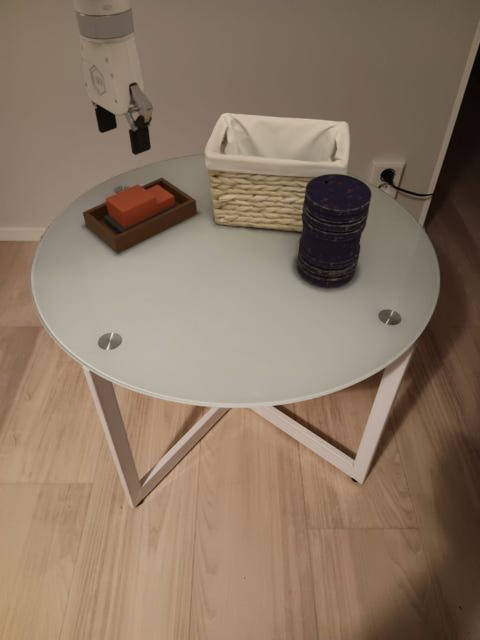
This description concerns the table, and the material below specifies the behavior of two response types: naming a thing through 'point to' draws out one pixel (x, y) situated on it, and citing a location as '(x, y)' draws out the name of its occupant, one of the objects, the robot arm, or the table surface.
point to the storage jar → (332, 229)
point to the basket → (270, 166)
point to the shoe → (136, 206)
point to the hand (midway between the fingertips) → (124, 140)
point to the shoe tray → (146, 229)
